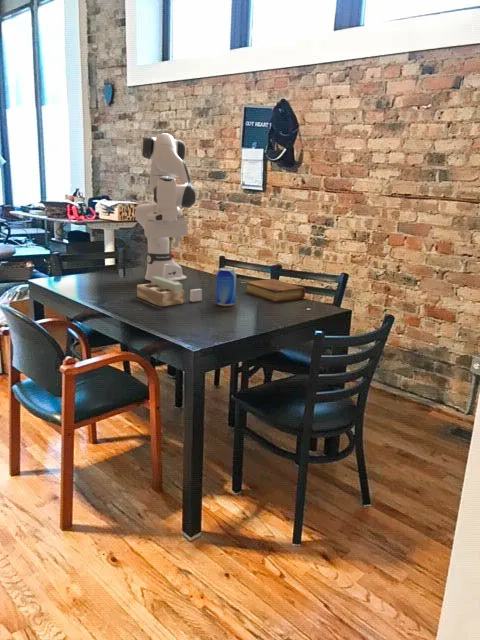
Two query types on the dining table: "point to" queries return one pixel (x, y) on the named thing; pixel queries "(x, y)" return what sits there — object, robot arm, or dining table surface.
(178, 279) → the robot arm
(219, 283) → the beer can
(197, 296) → the stand
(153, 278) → the grey bridge block
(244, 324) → the dining table surface
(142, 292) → the wooden compartment box
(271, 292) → the diary
